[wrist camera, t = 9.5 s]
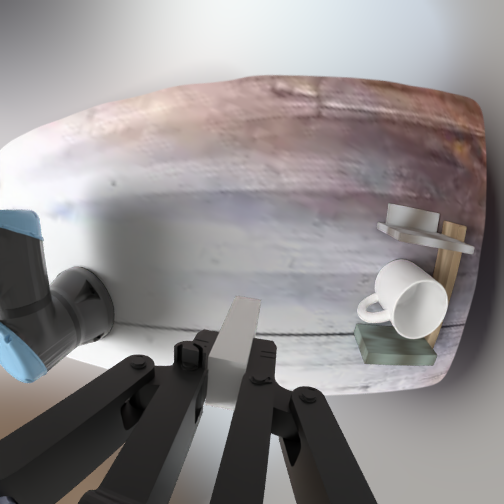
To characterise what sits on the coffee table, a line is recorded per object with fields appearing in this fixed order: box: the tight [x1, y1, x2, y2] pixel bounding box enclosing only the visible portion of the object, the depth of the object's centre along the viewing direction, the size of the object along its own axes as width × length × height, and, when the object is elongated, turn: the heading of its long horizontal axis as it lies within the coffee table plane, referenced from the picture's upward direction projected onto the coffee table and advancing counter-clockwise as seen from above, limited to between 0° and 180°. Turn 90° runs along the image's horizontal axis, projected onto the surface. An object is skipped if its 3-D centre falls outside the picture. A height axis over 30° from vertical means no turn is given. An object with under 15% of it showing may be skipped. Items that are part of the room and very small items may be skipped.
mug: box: [357, 259, 448, 339], centre depth 37 cm, size 12×8×10 cm
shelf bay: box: [354, 203, 474, 366], centre depth 37 cm, size 13×23×10 cm, turn 174°
